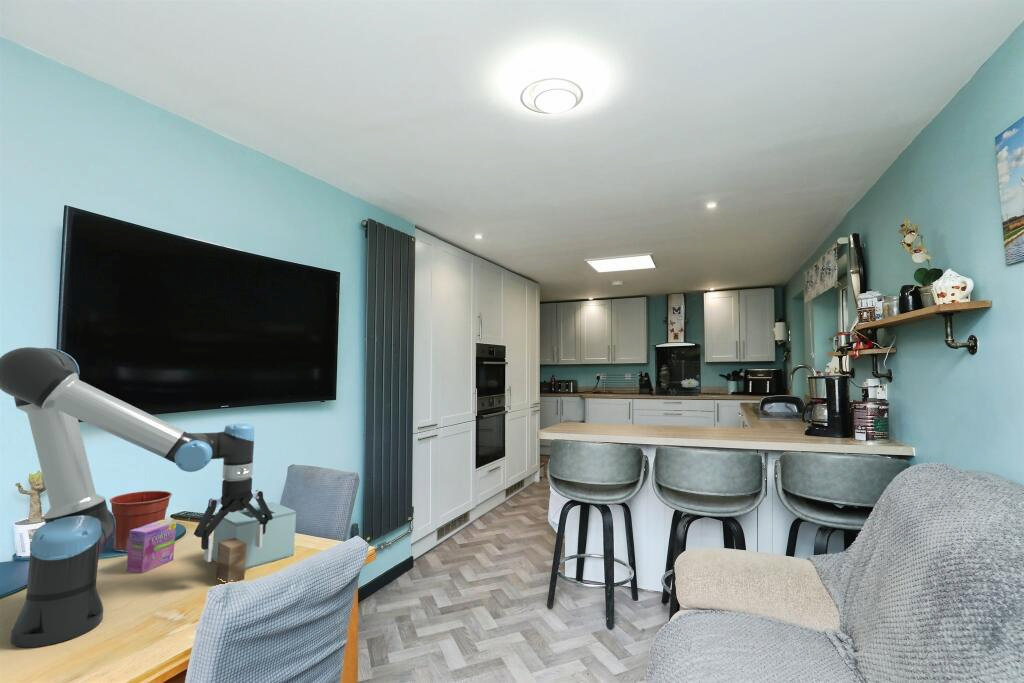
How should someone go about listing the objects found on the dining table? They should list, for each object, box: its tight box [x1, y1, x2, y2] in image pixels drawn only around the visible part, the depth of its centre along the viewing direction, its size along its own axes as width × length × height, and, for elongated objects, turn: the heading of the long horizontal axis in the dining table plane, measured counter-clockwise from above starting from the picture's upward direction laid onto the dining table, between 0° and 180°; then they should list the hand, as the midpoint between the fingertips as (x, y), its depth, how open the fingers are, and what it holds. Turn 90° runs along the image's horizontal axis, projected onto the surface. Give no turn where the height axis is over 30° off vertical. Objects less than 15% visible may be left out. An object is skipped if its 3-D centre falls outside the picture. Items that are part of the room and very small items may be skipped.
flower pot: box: [109, 490, 173, 551], centre depth 158 cm, size 16×16×16 cm
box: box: [126, 519, 177, 574], centre depth 143 cm, size 10×6×12 cm, turn 168°
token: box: [215, 538, 247, 584], centre depth 136 cm, size 4×7×10 cm, turn 55°
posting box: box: [211, 501, 297, 571], centre depth 152 cm, size 18×16×14 cm
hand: (234, 553), depth 137 cm, fingers open, 13 cm apart
